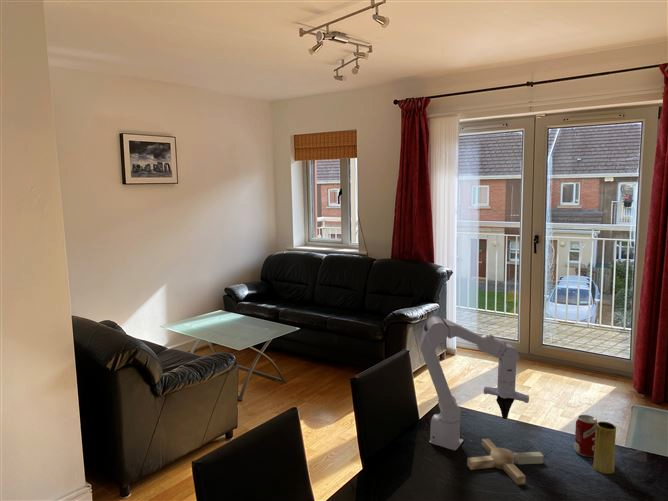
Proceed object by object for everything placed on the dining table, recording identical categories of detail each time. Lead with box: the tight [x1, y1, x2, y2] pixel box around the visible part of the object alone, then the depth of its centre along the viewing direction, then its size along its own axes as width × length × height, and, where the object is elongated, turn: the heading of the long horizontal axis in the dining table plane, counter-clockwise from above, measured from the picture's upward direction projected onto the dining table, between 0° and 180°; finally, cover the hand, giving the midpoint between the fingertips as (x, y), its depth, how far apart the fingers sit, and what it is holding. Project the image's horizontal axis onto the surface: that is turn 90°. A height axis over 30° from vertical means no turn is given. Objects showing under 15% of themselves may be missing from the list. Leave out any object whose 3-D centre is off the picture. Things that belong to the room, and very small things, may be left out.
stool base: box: [466, 438, 526, 486], centre depth 157 cm, size 15×22×4 cm, turn 10°
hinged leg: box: [512, 451, 544, 465], centre depth 159 cm, size 9×2×3 cm, turn 93°
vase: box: [592, 421, 617, 475], centre depth 154 cm, size 6×6×14 cm
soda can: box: [573, 414, 598, 458], centre depth 163 cm, size 7×7×12 cm
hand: (505, 417), depth 169 cm, fingers closed
